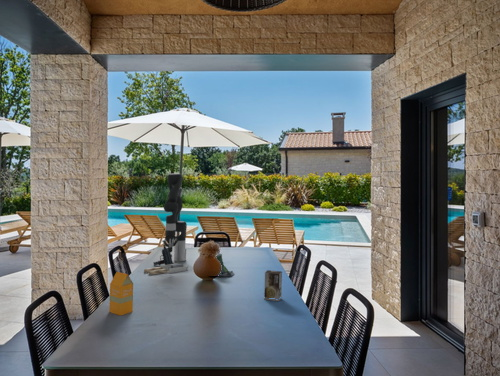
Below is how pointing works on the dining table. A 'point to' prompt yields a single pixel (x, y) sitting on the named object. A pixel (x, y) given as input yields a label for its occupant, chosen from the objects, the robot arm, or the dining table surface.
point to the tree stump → (224, 268)
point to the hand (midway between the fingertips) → (170, 252)
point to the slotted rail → (155, 270)
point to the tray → (174, 268)
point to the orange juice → (121, 294)
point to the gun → (165, 257)
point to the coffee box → (273, 285)
